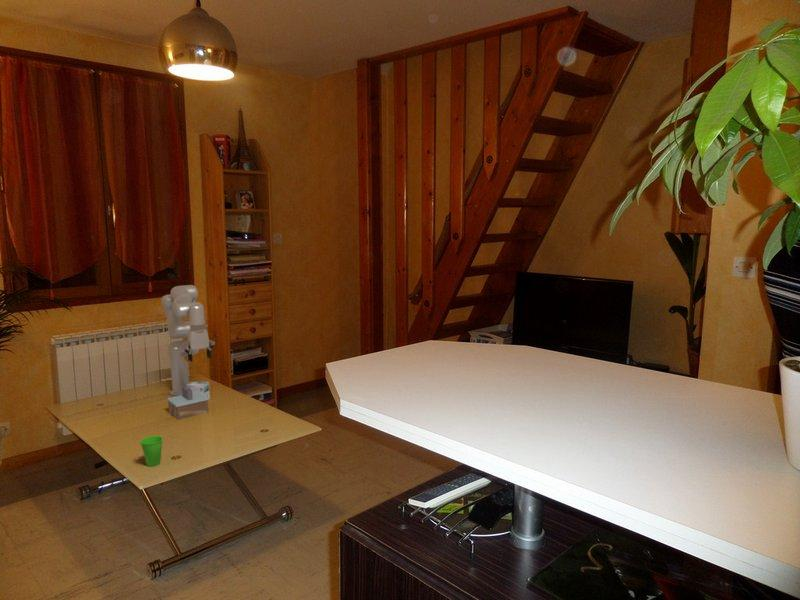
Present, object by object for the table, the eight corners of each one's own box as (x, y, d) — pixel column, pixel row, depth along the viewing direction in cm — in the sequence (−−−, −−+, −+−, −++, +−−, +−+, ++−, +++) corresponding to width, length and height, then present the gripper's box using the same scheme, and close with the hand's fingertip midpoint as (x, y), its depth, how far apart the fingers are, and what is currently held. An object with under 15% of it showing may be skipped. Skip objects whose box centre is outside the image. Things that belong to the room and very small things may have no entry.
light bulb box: (210, 399, 318) (209, 381, 316) (205, 403, 311) (203, 384, 310) (192, 399, 319) (191, 381, 317) (187, 402, 312) (185, 384, 311)
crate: (169, 414, 294) (168, 400, 293) (199, 407, 304) (198, 393, 303) (178, 421, 283) (177, 406, 282) (208, 414, 294) (207, 399, 292)
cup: (137, 466, 232) (134, 442, 230) (154, 458, 240) (152, 434, 238) (152, 470, 228) (150, 445, 227) (169, 461, 236) (167, 437, 235)
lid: (167, 402, 293) (165, 389, 292) (198, 395, 304) (197, 382, 303) (176, 409, 282) (175, 395, 281) (209, 401, 292) (208, 388, 291)
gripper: (210, 324, 297) (212, 355, 300) (178, 329, 286) (180, 361, 289) (216, 326, 292) (218, 357, 294) (183, 331, 281) (186, 363, 283)
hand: (199, 359), depth 291 cm, fingers open, 9 cm apart
